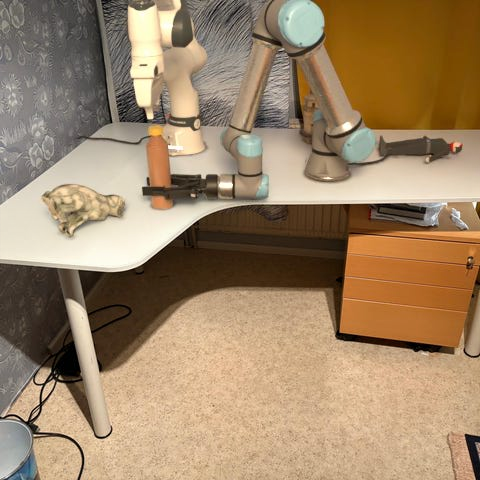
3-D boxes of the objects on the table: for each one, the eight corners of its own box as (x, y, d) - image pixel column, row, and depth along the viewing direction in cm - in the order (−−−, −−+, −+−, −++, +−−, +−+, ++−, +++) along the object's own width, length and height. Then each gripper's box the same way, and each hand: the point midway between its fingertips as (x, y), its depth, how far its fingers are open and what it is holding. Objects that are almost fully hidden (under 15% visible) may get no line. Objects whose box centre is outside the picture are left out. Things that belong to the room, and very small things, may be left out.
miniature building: (320, 132, 228) (325, 59, 214) (338, 142, 217) (344, 66, 203) (293, 137, 224) (296, 63, 209) (310, 147, 213) (314, 69, 198)
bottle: (167, 198, 173) (160, 123, 161) (176, 205, 168) (170, 129, 156) (148, 203, 170) (140, 127, 158) (157, 211, 165) (150, 133, 153)
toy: (379, 128, 216) (458, 128, 210) (378, 143, 219) (456, 144, 213) (380, 150, 194) (469, 151, 187) (379, 166, 197) (466, 168, 190)
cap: (159, 130, 160) (158, 124, 159) (165, 134, 157) (164, 127, 156) (146, 133, 158) (146, 126, 157) (152, 136, 155) (151, 130, 154)
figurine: (85, 253, 150) (138, 211, 159) (47, 199, 141) (105, 158, 150) (72, 248, 157) (123, 208, 166) (34, 197, 148) (90, 157, 157)
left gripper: (145, 58, 157) (150, 105, 164) (128, 73, 140) (134, 124, 146) (166, 57, 157) (170, 104, 164) (152, 72, 139) (157, 124, 146)
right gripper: (216, 211, 159) (139, 211, 160) (221, 184, 176) (151, 184, 177) (216, 188, 155) (137, 188, 156) (220, 163, 172) (149, 163, 173)
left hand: (153, 114), depth 155 cm, fingers open, 6 cm apart
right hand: (144, 186), depth 166 cm, fingers closed on bottle, 7 cm apart
